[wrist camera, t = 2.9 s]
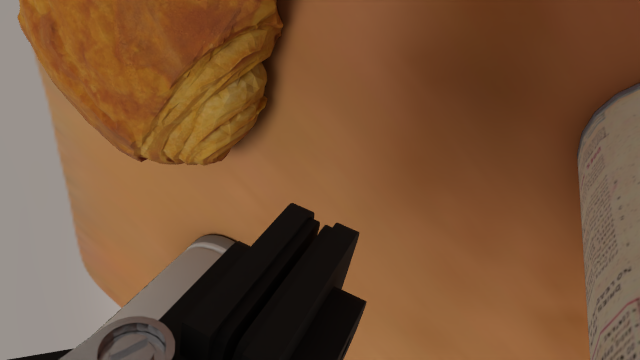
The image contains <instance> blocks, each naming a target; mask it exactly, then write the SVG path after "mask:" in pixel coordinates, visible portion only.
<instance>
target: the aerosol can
mask: <svg viewBox="0 0 640 360" xmlns="http://www.w3.org/2000/svg"><path fill="white" fill-rule="evenodd" d="M577 158H578V174H579V190H580V206H581V221H582V237H583V252H584V268H585V284H586V299H587V315H588V330H589V346H590V360H640V83H639V84H637V85H634V86H632V87H630V88H628V89H626V90H624V91H622V92H619V93H617V94H616V95H615V96H613V97H612V98H611V99H610V100H609V101H607V102H606V103H605V104H604V105H603V106H602V107H600V108H599V109H598V110H597V111H596V112H595V113H594V115H593V116H592V118H591V119H590V121H589V122H588V124H587V125H586V127H585V129H584V130H583V132H582V135H581V139H580V144H579V148H578V153H577Z"/></svg>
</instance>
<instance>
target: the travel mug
mask: <svg viewBox="0 0 640 360" xmlns="http://www.w3.org/2000/svg"><path fill="white" fill-rule="evenodd" d="M234 243H235V242H234V241H232V240H230V239H228V238H225V237H223V236H218V235H206V236H203V237H200V238H199V239H197V240H196V241H195V242H194V243H193V244H191V245H190V246H189V247H188V248H187V249H186V250H185V251H184V252H183V253H182V254H180V255H179V256H178V257H177V258H176V259H175V260H174V261H173V262H172V263H171V264H170V265H168V266H167V267H166V268H165V269H164V270H163V271H162V272H161V273H160V274H159V275H158V276H156V277H155V278H154V279H153V280H152V281H151V282H150V283H149V284H148V285H147V286H146V287H144V288H143V289H142V290H141V291H140V292H139V293H138V294H137V295H136V296H135V297H134V298H132V299H131V300H130V301H129V302H128V303H127V304H126V305H125V306H124V307H123V308H121V309H120V310H119V311H118V312H117V313H116V314H115V315H114V316H113V317H112V318H111V319H109V320H108V321H107V322H106V323H105V324H104V325H103V326H102V327H101V328H100V329H99V330H101V329H102V328H104V327H105V326H107V325H109V324H111V323H112V322H114V321H116V320H119V319H123V318H126V317H133V316H144V317H149V318H154V319H156V320H159V319H160V318H161V317H162V316H163V315H164V314H165V313H166V312H167V311H168V310H169V309H170V308H171V307H172V306H173V305H174V304H175V303H176V302H177V301H178V300H179V299H180V298H181V296H182V295H183V294H184V293H185V292H186V291H187V290H188V289H189V288H190V287H191V286H192V285H193V284H194V283H195V282H196V281H197V280H198V279H199V278H200V277H201V276H202V275H203V274H204V273H205V272H206V271H207V270H208V269H209V268H210V267H211V266H212V265H213V264H214V263H215V262H216V261H217V260H218V259H219V258H220V257H221V256H222V255H223V253H224V252H225V251H226V250H227V249H228V248H229V247H230V246H231V245H233V244H234ZM99 330H97V331H96V332H95V333H97V332H98V331H99ZM95 333H94V334H95ZM94 334H93V335H94Z"/></svg>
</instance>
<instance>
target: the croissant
mask: <svg viewBox="0 0 640 360" xmlns="http://www.w3.org/2000/svg"><path fill="white" fill-rule="evenodd" d="M276 1H277V0H19V2H20V13H19V15H18V20H19V23H20V26H21V28H22V31H23V32H24V34H25V36H26V38H27V39H28V41H29V42H30V43H31V45H32V47H33V49H34V51H35V53H36V55H37V57H38V59H39V61H40V62H41V64H42V65H43V67H44V69H45V70H46V72H47V73H48V75H49V77H50V78H51V80H52V82H53V83H54V84H55V85H56V86H57V88H58V89H59V90H60V91H61V92H62V93H63V95H64V96H65V97H66V98H67V99H68V100H69V101H70V103H71V104H72V105H73V106H74V107H75V108H76V109H77V111H78V112H79V113H80V114H81V115H82V116H83V117H84V118H85V120H86V121H87V122H88V123H89V124H90V125H92V126H93V127H94V128H95V129H96V130H98V131H99V132H100V134H101V135H102V136H104V137H105V138H106V139H107V140H108V141H109V142H110V143H111V144H112V145H113V146H115V147H116V148H117V149H118V150H119V151H121V152H123V153H125V154H126V155H128V156H130V157H132V158H134V159H136V160H138V161H140V162H142V161H144V160H146V159H149V160H151V161H155V162H157V163H162V164H182V163H186V164H187V165H197V164H201V165H208V164H211V163H215V162H217V161H222V160H223V159H224V158H225V157H226V156H227V154H228V153H229V151H230V149H231V147H232V146H233V145H235V144H236V143H237V142H239V141H240V140H241V139H242V138H243V137H244V136H245V135H247V134H248V132H249V131H250V129H251V128H252V127H253V126H254V124H255V122H256V120H257V117H258V114H259V113H260V111H261V110H262V109H263V108H265V106H266V104H267V98H266V97H265V96H263V95H264V90H265V85H266V82H267V73H266V70H265V68H264V66H263V64H262V61H264V60H265V59H267V58H268V57H270V55H271V53H272V50H273V49H274V44H275V43H276V41H277V39H278V37H280V36H281V29H282V27H283V23H282V21H281V19H280V17H279V15H278V11H277V7H276Z"/></svg>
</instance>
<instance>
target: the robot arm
mask: <svg viewBox="0 0 640 360" xmlns="http://www.w3.org/2000/svg"><path fill="white" fill-rule="evenodd" d="M319 226H320V222H319V221H316V220H314V212H312V211H310V210H307V209H305V208H303V207H300V206H298V205H296V204H294V203H291V204H290V205H288V206H287V208H286V209H285V210H284V211H283V212H282V213H281V214H280V215H279V216H278V217H277V218H276V220H275V221H274V222H273V223H272V224H271V225H270V226H269V227H268V228H267V229H266V231H265V232H264V233H263V234H262V235H261V236H260V237H259V238H258V239H257V240H256V241H255V243H254V244H253V245H252V246H251V247H250V246H248V245H246V244H244V243H242V242H240V241H238V242H235V243H234V244H233V245H231V246H230V247H229V248H228V249H227V250H226V251H225V252H224V253H223V255H222V256H221V257H220V258H219V259H218V260H217V261H216V262H215V263H214V264H213V265H212V266H211V267H210V268H209V269H208V270H207V271H206V272H205V273H204V274H203V275H202V276H201V277H200V278H199V279H198V280H197V281H196V282H195V283H194V284H193V285H192V286H191V287H190V288H189V289H188V290H187V291H186V292H185V293H184V294H183V295H182V296H181V298H180V299H179V300H178V301H177V302H176V303H175V304H174V305H173V306H172V307H171V308H170V309H169V310H168V311H167V312H166V313H165V314H164V315H163V316H162V317H161V318H160V319H159V320H156V319H154V318H149V317H144V316H133V317H126V318H123V319H119V320H116V321H114V322H112V323H111V324H109V325H107V326H105V327H104V328H102V329H101V330H99V331H98V332H97V333H95V334H94V335H92V336H91V337H90V338H88V339H87V340H86V341H84V342H83V343H82V344H80V345H78V346H77V347H76V348H74V349H68V350H63V351H57V352H51V353H45V354H39V355H33V356H27V357H22V358H16V359H9V360H343V359H344V357H345V355H346V352H347V350H348V348H349V346H350V343H351V341H352V339H353V336H354V334H355V332H356V329H357V327H358V324H359V322H360V319H361V316H362V314H363V311H364V308H365V305H366V302H367V301H364V300H362V299H360V298H358V297H356V296H354V295H352V294H350V293H348V292H345V291H343V290H341V289H342V286H343V283H344V280H345V277H346V274H347V271H348V268H349V265H350V262H351V259H352V256H353V253H354V250H355V246H356V243H357V240H358V237H359V232H357V231H355V230H353V229H351V228H348V227H346V226H344V225H341V224H339V223H336V224H335V225H334V226H333V228H332V227H330V226H328V225H325V226H324V227H323V228H322V230H321V231H320V232H319V234H318V230H319ZM317 234H318V235H317Z"/></svg>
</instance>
